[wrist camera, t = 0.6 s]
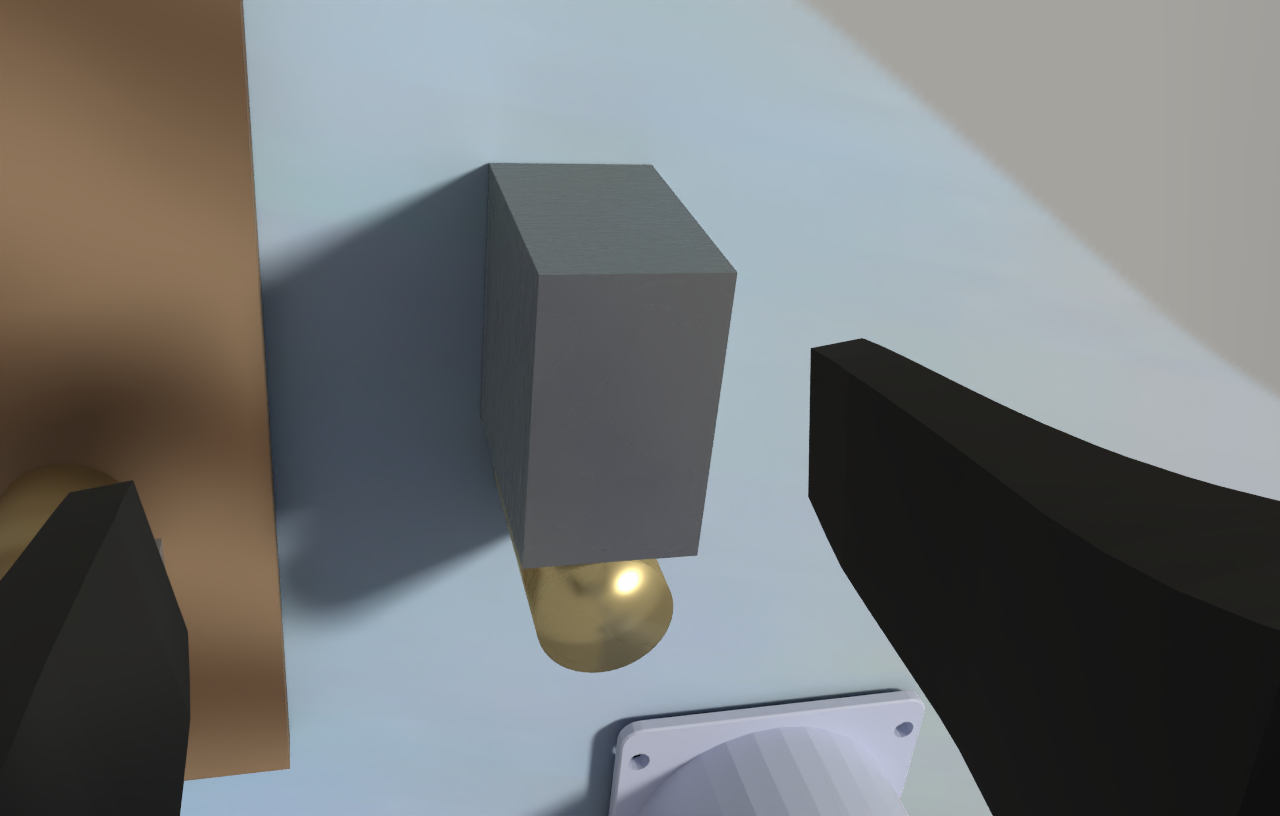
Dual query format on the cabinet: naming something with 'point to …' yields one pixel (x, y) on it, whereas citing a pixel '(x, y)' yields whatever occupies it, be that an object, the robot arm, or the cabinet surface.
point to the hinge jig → (145, 326)
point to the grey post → (600, 395)
